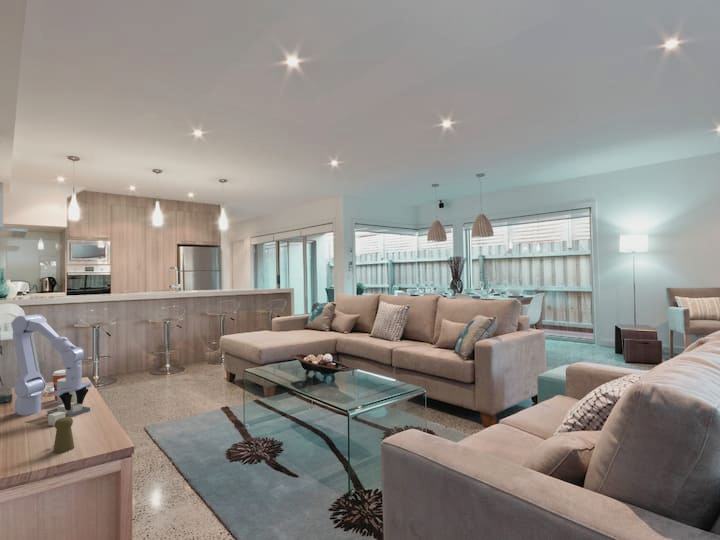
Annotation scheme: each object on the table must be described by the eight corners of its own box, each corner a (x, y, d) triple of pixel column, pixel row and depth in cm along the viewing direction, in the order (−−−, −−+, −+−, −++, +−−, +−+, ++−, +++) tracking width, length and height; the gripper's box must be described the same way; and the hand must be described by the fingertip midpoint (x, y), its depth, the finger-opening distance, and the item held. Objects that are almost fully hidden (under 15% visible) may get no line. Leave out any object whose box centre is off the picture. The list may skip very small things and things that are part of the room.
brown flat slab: (23, 425, 162) (23, 422, 162) (42, 419, 169) (42, 416, 169) (51, 431, 157) (51, 427, 157) (69, 424, 163) (69, 421, 163)
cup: (67, 407, 184) (67, 381, 184) (52, 406, 185) (52, 380, 185) (82, 402, 192) (82, 377, 192) (68, 401, 193) (68, 376, 193)
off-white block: (48, 424, 159) (48, 414, 159) (58, 421, 163) (58, 411, 163) (55, 425, 158) (55, 415, 158) (65, 422, 162) (65, 412, 162)
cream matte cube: (57, 415, 172) (57, 406, 172) (66, 412, 176) (66, 403, 176) (64, 416, 171) (64, 406, 171) (73, 413, 175) (73, 403, 175)
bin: (47, 418, 171) (47, 411, 171) (69, 410, 179) (69, 404, 179) (68, 421, 166) (68, 414, 166) (90, 414, 175) (90, 407, 175)
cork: (60, 445, 143) (60, 415, 143) (78, 445, 144) (78, 414, 144) (48, 453, 137) (48, 421, 137) (67, 452, 138) (67, 421, 138)
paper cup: (50, 402, 191) (50, 373, 191) (54, 398, 197) (54, 370, 197) (70, 400, 194) (70, 371, 194) (73, 396, 201) (73, 368, 201)
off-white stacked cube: (66, 415, 171) (66, 406, 171) (75, 412, 174) (76, 403, 174) (73, 416, 169) (73, 407, 169) (82, 413, 173) (82, 404, 173)
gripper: (62, 381, 164) (62, 414, 164) (96, 373, 177) (96, 403, 177) (51, 380, 166) (51, 412, 166) (85, 371, 180) (85, 401, 180)
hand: (73, 407), depth 172 cm, fingers open, 4 cm apart
